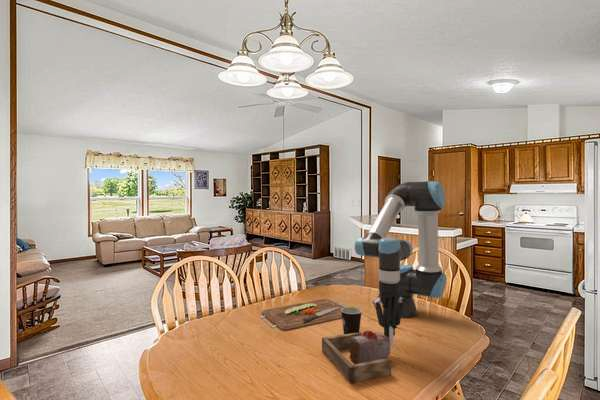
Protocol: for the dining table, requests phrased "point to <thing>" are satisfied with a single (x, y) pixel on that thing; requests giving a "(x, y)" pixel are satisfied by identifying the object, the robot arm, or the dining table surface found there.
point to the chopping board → (303, 314)
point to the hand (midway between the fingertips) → (389, 344)
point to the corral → (357, 370)
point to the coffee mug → (351, 319)
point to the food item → (369, 347)
